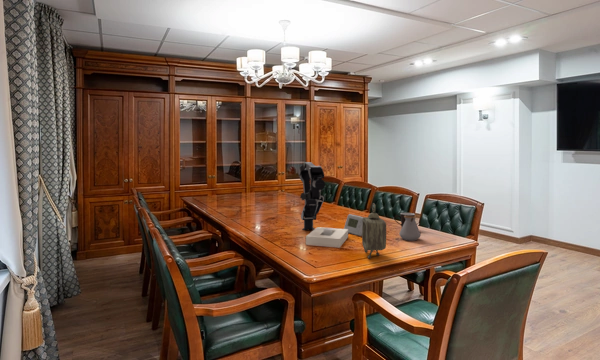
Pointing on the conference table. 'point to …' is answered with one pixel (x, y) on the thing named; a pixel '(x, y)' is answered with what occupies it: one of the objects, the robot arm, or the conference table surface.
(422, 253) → the conference table surface
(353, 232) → the digital clock
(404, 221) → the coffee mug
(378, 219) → the shaggy robed figurine
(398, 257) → the conference table surface
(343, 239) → the slot board
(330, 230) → the light grey rectangular block
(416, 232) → the coffee pot
